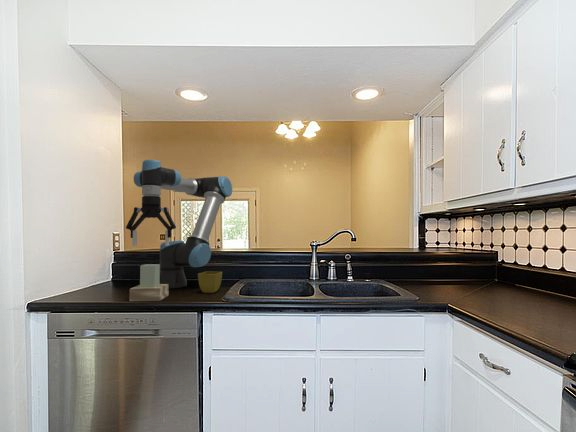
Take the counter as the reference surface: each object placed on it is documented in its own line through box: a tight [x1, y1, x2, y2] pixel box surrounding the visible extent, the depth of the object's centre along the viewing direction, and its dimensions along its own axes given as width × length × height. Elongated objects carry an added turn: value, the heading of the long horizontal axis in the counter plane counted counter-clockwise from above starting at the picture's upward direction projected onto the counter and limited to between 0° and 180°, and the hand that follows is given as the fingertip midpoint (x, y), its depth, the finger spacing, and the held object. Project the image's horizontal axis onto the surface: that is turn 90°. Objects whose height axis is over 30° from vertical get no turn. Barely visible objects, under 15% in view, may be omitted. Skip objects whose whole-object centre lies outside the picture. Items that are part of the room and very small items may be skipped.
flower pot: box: [197, 271, 223, 294], centre depth 158 cm, size 9×9×9 cm
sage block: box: [139, 263, 160, 288], centre depth 144 cm, size 6×6×9 cm
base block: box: [128, 284, 170, 302], centre depth 144 cm, size 12×12×5 cm
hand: (151, 245), depth 145 cm, fingers open, 13 cm apart
